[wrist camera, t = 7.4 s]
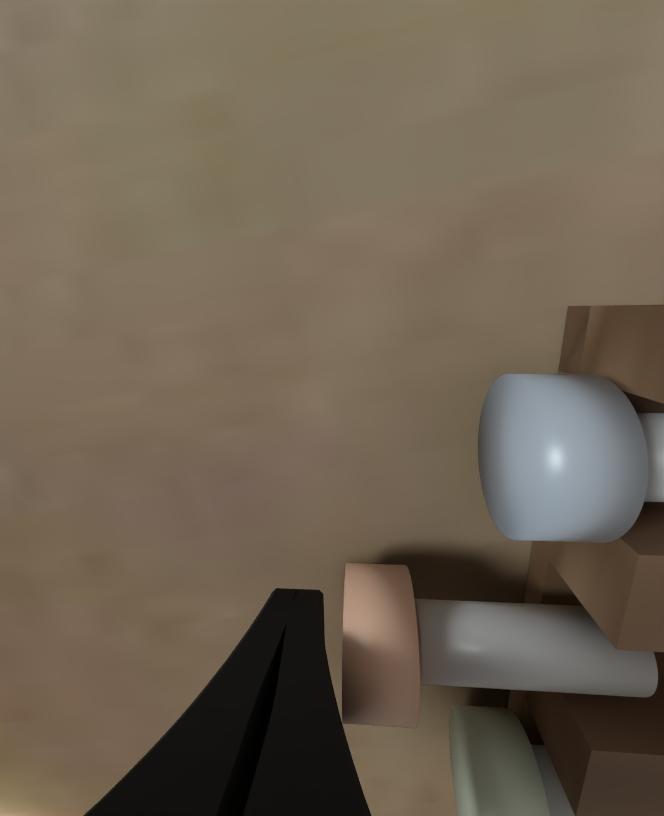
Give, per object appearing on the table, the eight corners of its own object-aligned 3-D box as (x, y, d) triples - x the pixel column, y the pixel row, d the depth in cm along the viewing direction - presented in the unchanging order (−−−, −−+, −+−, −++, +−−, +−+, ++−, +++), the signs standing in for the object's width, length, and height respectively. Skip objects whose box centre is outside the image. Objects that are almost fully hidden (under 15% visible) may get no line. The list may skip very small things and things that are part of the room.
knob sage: (446, 754, 12) (477, 913, 9) (453, 677, 12) (491, 824, 8) (657, 769, 12) (771, 944, 9) (682, 691, 11) (819, 853, 8)
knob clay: (347, 631, 11) (342, 762, 8) (346, 536, 10) (341, 640, 7) (575, 643, 11) (668, 787, 8) (595, 544, 10) (711, 660, 7)
